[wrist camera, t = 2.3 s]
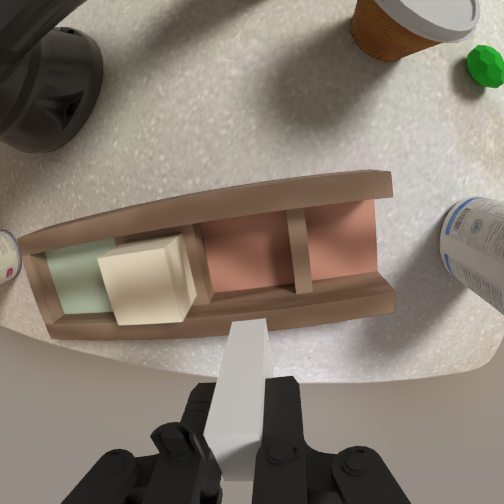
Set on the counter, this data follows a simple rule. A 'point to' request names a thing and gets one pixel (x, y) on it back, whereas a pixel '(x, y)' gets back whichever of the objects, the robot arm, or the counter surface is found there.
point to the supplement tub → (476, 247)
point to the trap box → (226, 258)
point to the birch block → (149, 280)
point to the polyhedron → (486, 66)
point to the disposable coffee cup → (411, 25)
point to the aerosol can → (9, 257)
